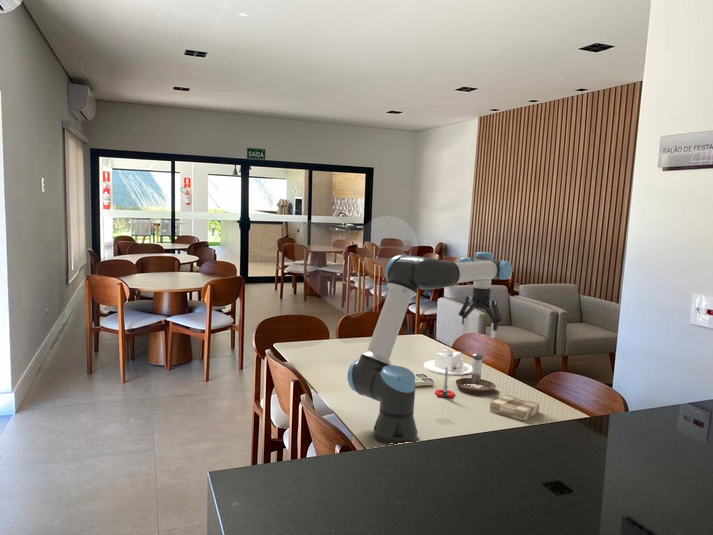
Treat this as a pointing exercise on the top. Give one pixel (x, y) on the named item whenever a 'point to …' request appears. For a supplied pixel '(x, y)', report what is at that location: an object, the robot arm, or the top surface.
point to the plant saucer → (486, 388)
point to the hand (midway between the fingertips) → (478, 334)
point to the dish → (448, 363)
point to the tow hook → (445, 389)
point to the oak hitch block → (514, 407)
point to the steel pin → (476, 368)
